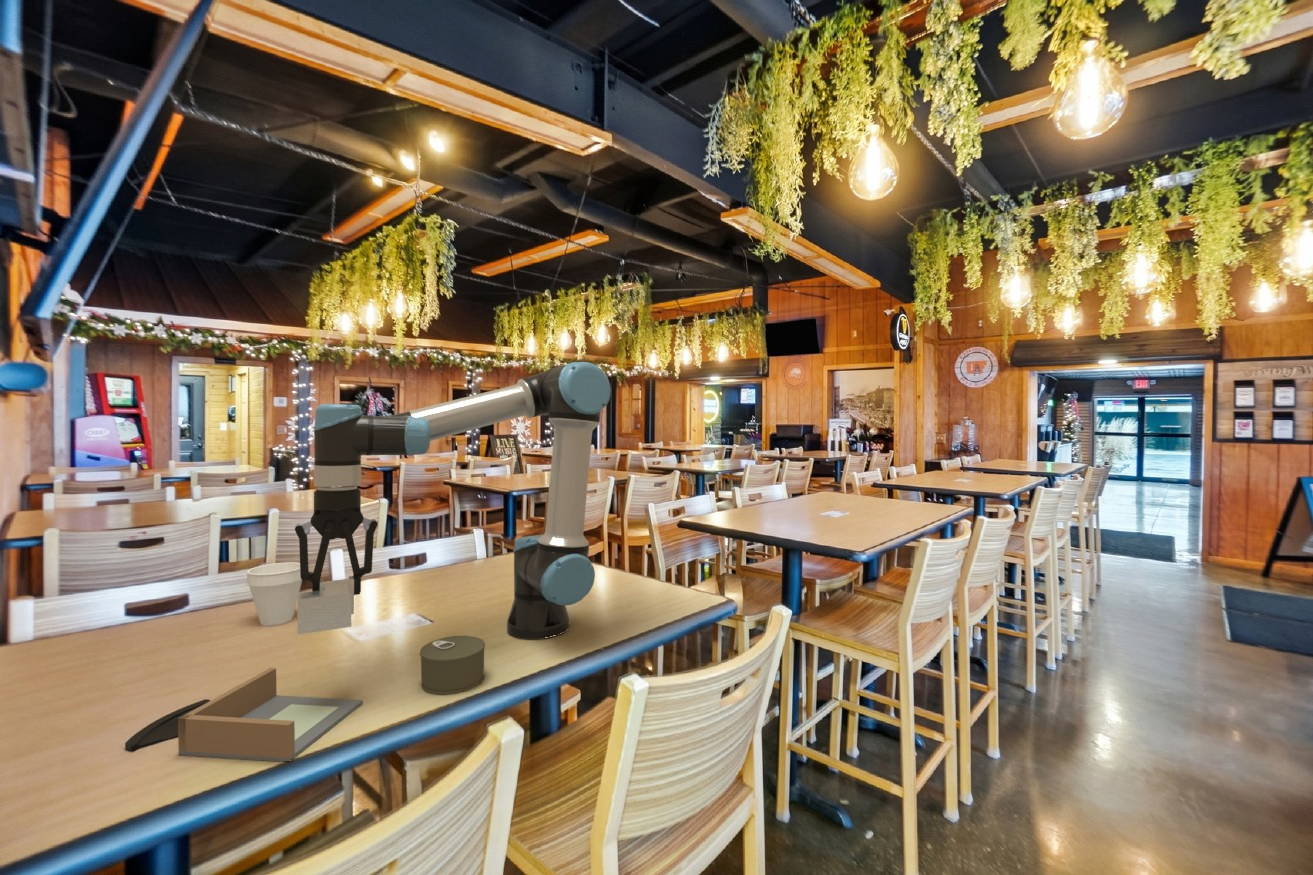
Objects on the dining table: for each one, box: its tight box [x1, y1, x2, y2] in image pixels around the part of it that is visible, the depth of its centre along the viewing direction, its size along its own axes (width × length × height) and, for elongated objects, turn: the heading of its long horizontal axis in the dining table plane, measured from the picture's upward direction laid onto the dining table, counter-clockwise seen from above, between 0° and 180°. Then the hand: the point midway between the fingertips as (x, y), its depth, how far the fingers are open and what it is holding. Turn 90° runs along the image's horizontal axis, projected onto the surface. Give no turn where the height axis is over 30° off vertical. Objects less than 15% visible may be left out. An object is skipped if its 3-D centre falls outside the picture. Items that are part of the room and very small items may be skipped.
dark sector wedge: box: [124, 699, 211, 752], centre depth 94 cm, size 8×14×2 cm, turn 157°
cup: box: [246, 561, 303, 627], centre depth 145 cm, size 12×12×14 cm
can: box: [419, 635, 486, 696], centre depth 111 cm, size 12×12×7 cm
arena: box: [177, 667, 364, 762], centre depth 94 cm, size 18×18×6 cm
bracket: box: [296, 578, 352, 635], centre depth 102 cm, size 10×8×6 cm
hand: (336, 614), depth 105 cm, fingers closed on bracket, 4 cm apart
